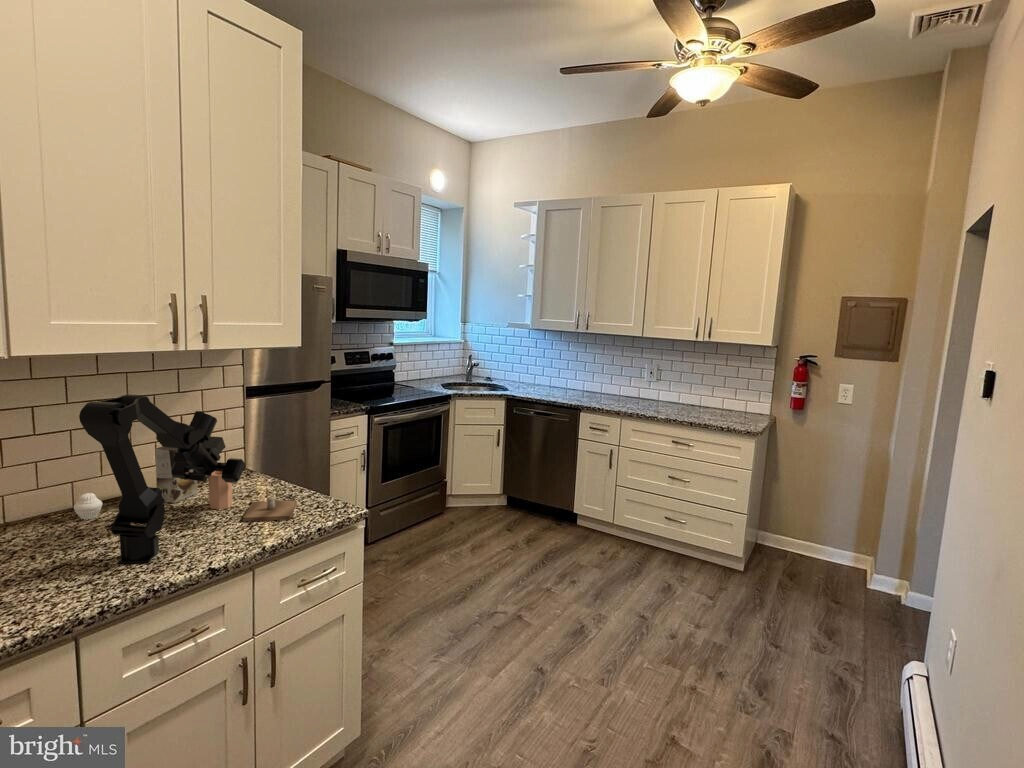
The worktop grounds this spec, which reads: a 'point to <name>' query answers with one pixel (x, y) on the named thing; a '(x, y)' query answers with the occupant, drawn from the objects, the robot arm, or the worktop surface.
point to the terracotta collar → (219, 491)
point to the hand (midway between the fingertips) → (221, 481)
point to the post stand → (270, 510)
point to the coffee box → (171, 477)
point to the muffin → (88, 506)
